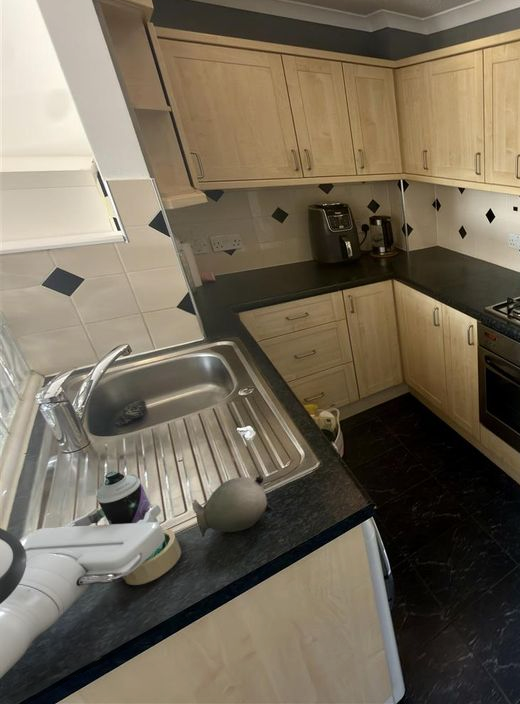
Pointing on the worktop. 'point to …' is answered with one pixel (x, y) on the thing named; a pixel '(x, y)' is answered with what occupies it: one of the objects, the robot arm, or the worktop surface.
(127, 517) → the spray can
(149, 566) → the beige base ring
